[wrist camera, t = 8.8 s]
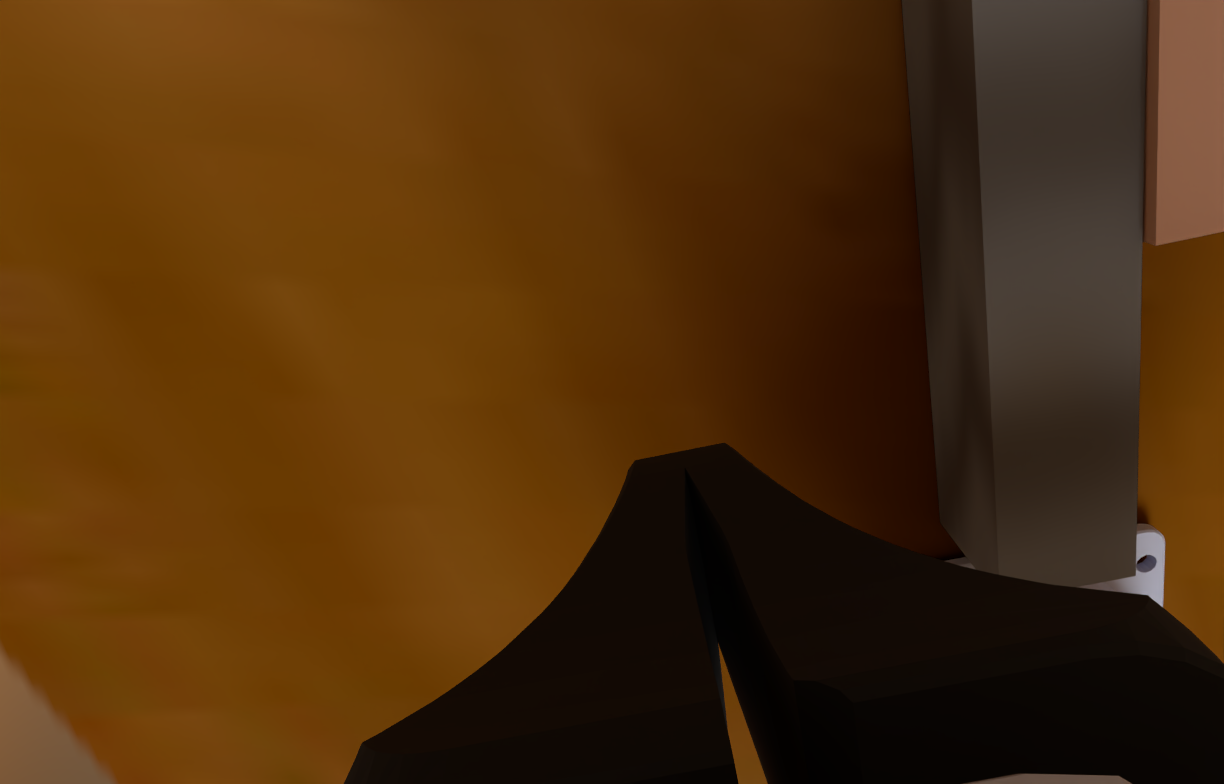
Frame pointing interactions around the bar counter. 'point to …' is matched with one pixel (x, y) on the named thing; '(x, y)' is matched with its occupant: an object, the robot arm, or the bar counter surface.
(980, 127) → the gray rectangular bar
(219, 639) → the bar counter surface
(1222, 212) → the block
